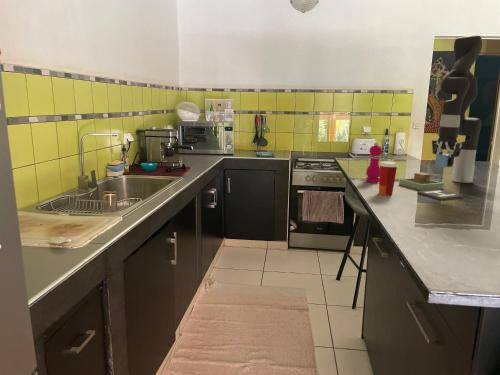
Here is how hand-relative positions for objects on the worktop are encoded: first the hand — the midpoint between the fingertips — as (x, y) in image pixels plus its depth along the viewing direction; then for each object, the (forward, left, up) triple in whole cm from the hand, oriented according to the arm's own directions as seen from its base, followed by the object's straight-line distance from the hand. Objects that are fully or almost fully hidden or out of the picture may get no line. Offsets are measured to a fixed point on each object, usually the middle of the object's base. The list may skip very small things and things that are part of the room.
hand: (443, 165), depth 169 cm
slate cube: (0, 0, 0) cm, 0 cm away
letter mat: (0, 0, -14) cm, 14 cm away
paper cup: (+21, -11, -14) cm, 28 cm away
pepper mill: (+7, -35, -14) cm, 38 cm away
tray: (-7, -17, -14) cm, 22 cm away
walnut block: (-7, -16, -13) cm, 22 cm away
